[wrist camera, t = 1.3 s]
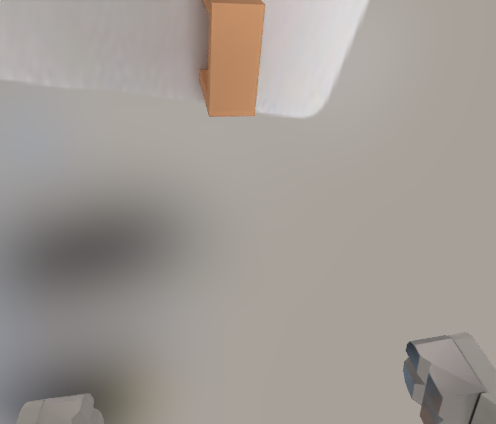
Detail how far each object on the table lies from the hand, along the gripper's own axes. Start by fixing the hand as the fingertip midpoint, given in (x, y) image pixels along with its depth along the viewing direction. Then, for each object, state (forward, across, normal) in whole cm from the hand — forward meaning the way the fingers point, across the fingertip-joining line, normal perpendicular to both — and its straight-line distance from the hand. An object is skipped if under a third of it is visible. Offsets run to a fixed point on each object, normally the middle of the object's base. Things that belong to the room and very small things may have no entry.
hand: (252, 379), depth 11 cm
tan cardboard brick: (+36, -1, -1) cm, 36 cm away
